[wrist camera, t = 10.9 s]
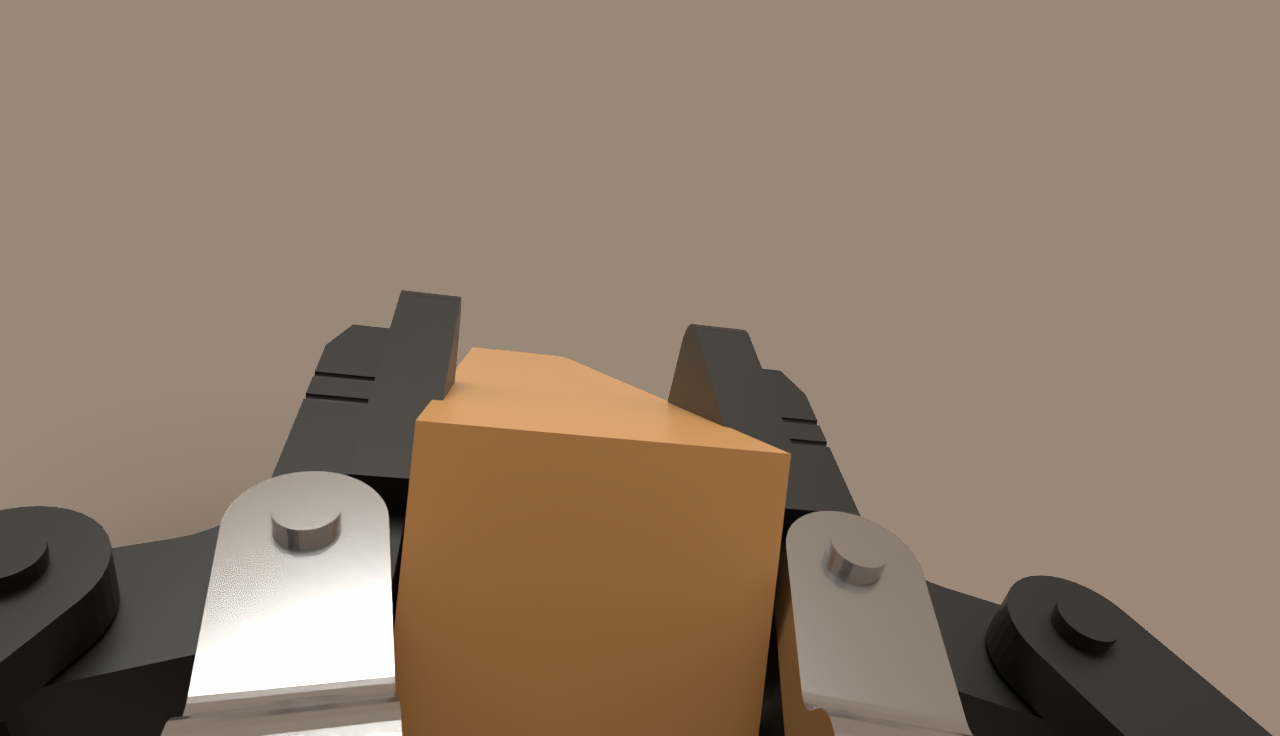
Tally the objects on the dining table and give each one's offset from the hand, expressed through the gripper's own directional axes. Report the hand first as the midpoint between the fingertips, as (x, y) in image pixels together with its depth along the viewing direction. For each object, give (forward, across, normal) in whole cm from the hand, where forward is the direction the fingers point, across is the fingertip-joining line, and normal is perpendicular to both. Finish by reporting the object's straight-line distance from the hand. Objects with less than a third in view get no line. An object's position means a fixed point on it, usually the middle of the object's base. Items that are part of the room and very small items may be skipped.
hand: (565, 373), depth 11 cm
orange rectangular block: (+4, 0, +6) cm, 7 cm away
